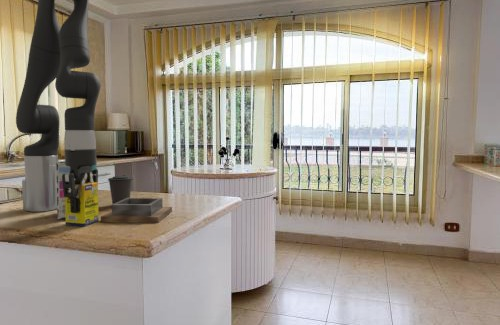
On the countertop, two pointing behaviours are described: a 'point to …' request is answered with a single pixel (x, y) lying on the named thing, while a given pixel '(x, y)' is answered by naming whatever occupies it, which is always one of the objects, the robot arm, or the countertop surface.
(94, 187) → the supplement box
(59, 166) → the candy bar box
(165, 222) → the countertop surface
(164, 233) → the countertop surface
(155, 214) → the caddy
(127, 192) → the coffee cup
